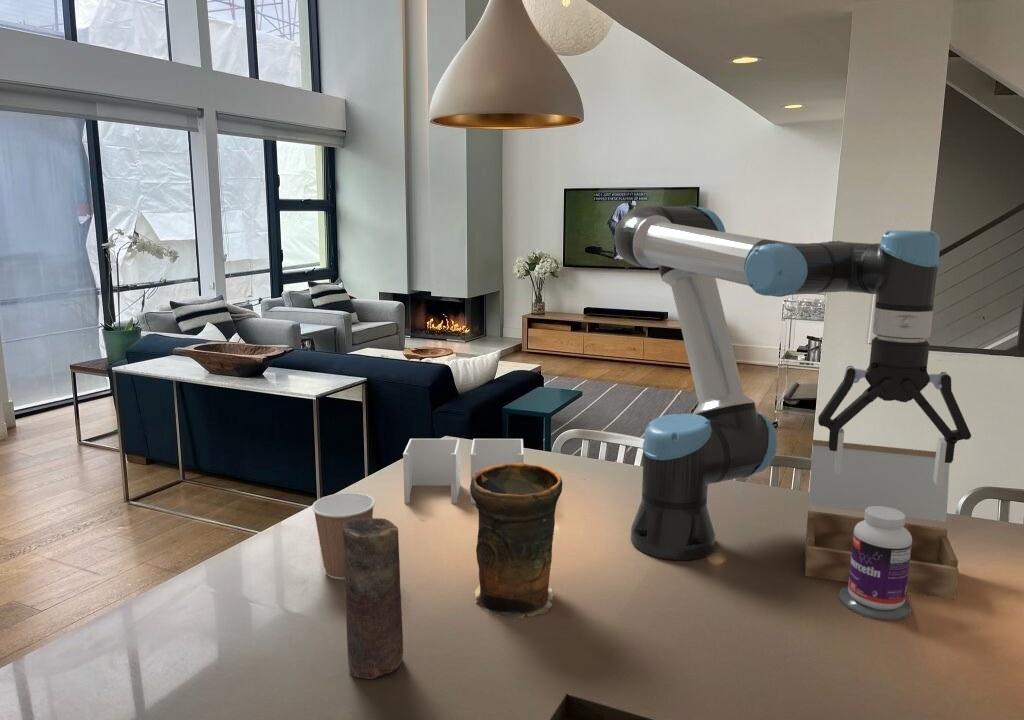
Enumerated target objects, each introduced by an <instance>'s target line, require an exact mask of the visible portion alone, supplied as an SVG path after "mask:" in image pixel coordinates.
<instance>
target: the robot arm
mask: <svg viewBox="0 0 1024 720" xmlns="http://www.w3.org/2000/svg"><path fill="white" fill-rule="evenodd" d="M613 241H614V245H615V249H616V251H617V253H618V255H620V257H621V258H622V260H624V261H625V262H627V263H629V264H631V265H634V266H637V267H643V268H646V269H647V268H648V269H656V268H658V269H659V274H660V278H661V281H662V282H663V283H666V285H668V286H670V287H671V291H672V295H673V299H674V300H673V301H674V304H675V308H676V312H677V317H678V320H679V326H680V329H681V333H682V338H683V342H684V346H685V350H686V355H687V359H688V364H689V367H690V371H691V376H692V380H693V384H694V389H695V393H696V398H697V401H698V404H697V406H696V408H695V410H694V411H693V413H688V412H686V413H684V412H682V413H680V414H679V413H671V414H666V415H661V416H659V417H655V418H654V419H652V420H651V421H650V422H649V423H648V424H647V425H646V428H645V429H644V439H643V440H644V441H643V443H642V452H643V453H642V454H643V455H642V457H643V460H642V481H641V482H642V487H641V502H640V504H639V507H638V509H637V512H636V514H635V517H634V520H633V522H632V524H631V529H630V530H631V531H630V542H631V544H632V545H633V546H634V547H635V548H636V549H637V550H638V551H641V552H642V553H644V554H646V555H649V556H652V557H656V558H658V559H659V558H660V559H664V560H665V559H666V560H672V561H689V560H690V561H691V560H697V559H701V558H704V557H706V556H708V555H710V554H711V553H712V552H713V551H714V549H715V545H716V543H715V541H716V536H715V535H716V534H715V530H714V526H713V524H712V520H711V516H710V513H709V509H708V504H707V503H708V489H709V488H708V486H709V485H710V484H716V483H721V482H726V481H730V480H735V479H741V478H748V477H751V476H753V475H755V474H759V473H761V472H763V471H765V470H766V469H768V468H769V466H771V464H772V461H773V459H774V458H775V456H776V453H777V451H778V450H777V449H778V436H777V432H776V429H775V425H774V424H773V422H772V421H771V420H770V419H768V417H767V416H766V415H765V414H763V413H760V412H758V411H757V408H756V403H755V400H754V399H751V398H750V397H749V396H747V395H746V394H745V392H744V389H743V388H744V387H743V385H742V382H741V381H742V380H741V377H740V372H739V369H738V364H737V361H736V357H735V352H734V348H733V345H732V340H731V335H730V332H729V327H728V324H727V320H726V315H725V312H724V307H723V303H722V300H721V296H720V291H719V287H718V282H717V279H719V280H722V281H727V282H730V283H731V282H732V283H735V284H740V285H743V286H744V285H745V286H747V287H748V286H749V287H750V288H751V289H752V290H753V291H754V292H755V293H756V294H758V295H761V296H764V297H766V296H767V297H770V296H771V297H777V298H781V297H786V296H796V295H807V294H823V293H839V292H840V293H841V292H848V293H860V294H870V295H875V300H874V301H875V305H874V306H875V308H874V315H873V324H872V325H873V326H872V333H873V335H875V336H874V337H873V338H872V339H871V345H870V355H869V363H868V364H869V365H868V367H867V368H866V369H861V368H855V367H854V366H853V365H848V366H846V368H845V372H844V376H843V380H842V382H840V384H839V386H838V387H837V389H836V390H835V392H834V393H833V394H832V396H831V398H830V399H829V401H828V402H827V403H826V405H825V407H824V408H823V410H822V411H821V412H820V414H819V415H818V417H817V419H818V420H817V421H818V425H819V426H821V427H824V428H826V429H828V430H829V436H828V441H829V449H830V451H836V456H835V467H834V469H835V474H840V473H841V462H842V451H843V443H844V437H845V431H844V430H845V429H844V428H843V427H844V426H846V424H848V423H849V421H851V420H852V419H854V417H855V416H857V415H858V414H859V413H861V411H863V409H865V408H866V407H867V406H868V405H870V404H871V403H873V402H874V401H875V400H877V398H879V399H880V400H883V401H886V402H889V401H897V402H900V403H907V402H910V401H912V400H914V402H915V403H916V404H917V406H919V407H920V409H921V410H922V411H923V412H924V414H925V415H926V416H927V417H928V419H929V420H930V421H931V422H932V423H933V424H934V426H935V427H936V428H937V429H938V431H939V432H940V433H941V434H942V436H943V437H937V442H936V451H935V452H936V458H935V467H934V475H933V480H934V482H935V484H936V485H938V486H942V480H943V471H944V463H949V464H952V462H953V461H954V455H955V446H956V444H957V443H958V442H959V441H962V440H964V441H965V440H966V441H967V440H970V439H971V438H972V434H971V431H970V428H969V427H968V425H967V422H966V420H965V418H964V416H963V413H962V411H961V409H960V407H959V405H958V402H957V400H956V397H955V395H954V394H953V392H952V378H951V377H952V376H950V375H949V374H948V372H945V371H941V372H940V373H936V374H935V373H933V374H931V373H928V362H929V352H930V343H929V341H928V340H926V339H929V338H930V337H931V334H932V324H933V323H932V322H933V312H934V300H935V292H936V288H937V287H936V286H937V278H938V272H939V266H940V265H941V262H940V245H941V242H940V241H941V238H940V235H939V234H937V232H935V231H932V230H931V231H930V230H887V231H886V230H885V231H884V232H883V233H882V235H881V240H880V242H879V243H878V242H877V243H876V242H875V243H867V242H853V241H851V242H850V241H849V242H848V241H841V240H836V241H835V240H833V241H831V240H830V241H821V242H812V243H797V242H796V243H795V242H794V243H793V242H787V241H786V242H785V241H782V240H781V241H780V240H775V239H768V238H762V237H755V236H749V235H742V234H737V233H731V232H727V231H726V228H725V226H724V224H723V221H722V219H721V218H720V217H719V215H717V213H715V212H714V211H713V210H711V209H709V208H706V207H703V206H702V207H701V206H700V207H698V206H695V205H684V206H666V205H665V206H661V205H660V206H657V205H656V206H654V205H645V206H640V207H636V208H634V209H632V210H630V211H628V212H627V213H625V214H624V215H623V217H622V218H620V220H619V222H618V223H617V225H616V228H615V231H614V240H613ZM863 378H864V379H865V380H866V382H867V383H868V384H869V386H868V387H867V388H866V389H865V390H864V391H863V392H862V393H861V394H860V395H859V396H858V397H857V398H856V399H855V400H854V401H852V402H851V403H850V404H849V405H847V407H846V408H844V409H843V410H842V411H841V412H840V413H838V414H837V415H836V417H834V418H833V419H832V417H833V416H834V414H835V412H836V411H837V409H838V408H839V406H840V405H841V404H842V402H843V401H844V400H845V398H846V396H847V395H848V393H849V392H850V390H851V389H852V388H853V385H854V384H856V383H857V384H858V383H859V381H860V380H861V379H863ZM930 383H932V384H933V387H934V388H935V389H936V390H939V391H940V394H941V396H942V399H943V400H944V403H945V406H946V407H947V410H948V412H949V414H950V416H951V418H952V421H953V424H954V425H955V428H956V429H952V430H951V428H950V427H949V426H948V425H947V424H946V422H945V421H944V419H942V417H941V416H940V415H939V414H938V412H937V411H936V410H935V408H934V407H933V405H931V404H930V403H929V401H928V400H927V399H926V397H925V396H924V394H923V393H922V391H923V390H924V389H925V388H926V386H928V385H929V384H930Z"/></svg>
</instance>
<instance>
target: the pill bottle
mask: <svg viewBox="0 0 1024 720" xmlns="http://www.w3.org/2000/svg"><path fill="white" fill-rule="evenodd" d="M863 518H864V519H865V520H864V521H861V522H859V523H858V524H857V525H856V526H855V528H854V535H853V545H852V555H851V565H850V574H849V582H847V583H848V585H847V586H848V591H849V593H850V595H851V596H852V598H854V599H855V600H856V601H857V602H859V603H861V604H863V605H865V606H868V607H871V608H874V609H879V610H891V609H896V608H899V607H901V606H902V605H903V604H904V602H905V599H906V597H907V595H906V594H907V592H906V588H907V580H908V571H909V562H910V554H911V545H912V536H911V534H910V533H909V531H908V530H907V529H906V528H904V527H903V526H904V524H905V523H906V517H905V514H904V513H902V512H901V511H899V510H896V509H893V508H889V507H883V506H870V507H867V508H866V509H865V512H864V517H863Z"/></svg>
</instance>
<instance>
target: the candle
mask: <svg viewBox="0 0 1024 720" xmlns="http://www.w3.org/2000/svg"><path fill="white" fill-rule="evenodd" d="M343 545H344V571H345V579H344V586H345V587H344V589H345V591H344V592H345V611H346V613H345V614H346V615H345V616H346V617H345V618H346V619H345V620H346V645H347V665H348V669H349V672H350V674H351V675H352V676H353V677H356V678H357V679H358V678H359V679H362V678H363V679H368V680H373V679H376V678H377V677H379V676H383V675H385V674H390V673H392V672H393V671H395V670H397V669H398V668H399V666H400V665H401V664H402V662H403V657H404V635H403V633H404V632H403V631H404V630H403V613H402V594H401V590H402V589H401V573H400V572H401V568H400V563H401V562H400V543H399V527H398V526H397V525H395V524H394V523H393V522H392V521H390V520H388V519H386V518H381V517H380V518H379V517H377V518H374V517H372V518H355V519H351V520H349V521H348V522H346V523H345V524H344V525H343Z"/></svg>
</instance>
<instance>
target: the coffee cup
mask: <svg viewBox="0 0 1024 720" xmlns="http://www.w3.org/2000/svg"><path fill="white" fill-rule="evenodd" d="M375 504H376V501H375V498H374V497H372V496H370V495H368V494H366V493H359V492H342V493H341V492H338V493H335V494H330V495H327V496H323V497H321V498H319V499H317V500H316V501H314V502H313V504H312V505H311V508H312V512H314V518H315V525H316V529H317V534H318V540H319V545H320V552H321V558H322V562H323V568H324V570H325V573H326V575H327V576H328V577H330V578H331V579H334V580H345V571H344V545H343V525H344V524H345V523H346V522H348V521H349V520H351V519H355V518H373V514H374V513H373V512H374V506H375Z"/></svg>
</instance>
